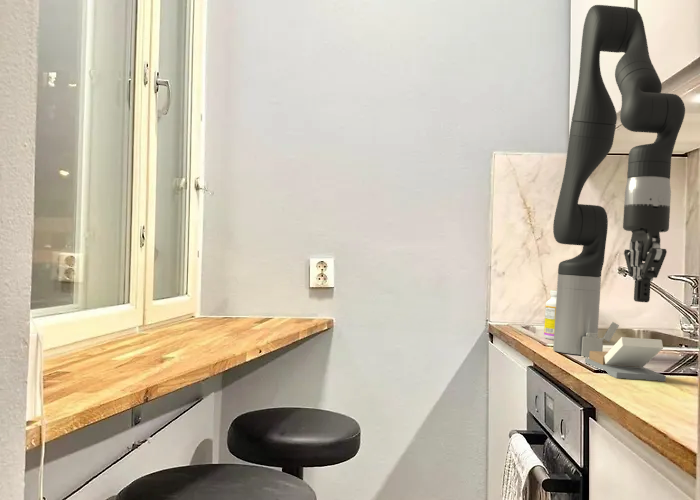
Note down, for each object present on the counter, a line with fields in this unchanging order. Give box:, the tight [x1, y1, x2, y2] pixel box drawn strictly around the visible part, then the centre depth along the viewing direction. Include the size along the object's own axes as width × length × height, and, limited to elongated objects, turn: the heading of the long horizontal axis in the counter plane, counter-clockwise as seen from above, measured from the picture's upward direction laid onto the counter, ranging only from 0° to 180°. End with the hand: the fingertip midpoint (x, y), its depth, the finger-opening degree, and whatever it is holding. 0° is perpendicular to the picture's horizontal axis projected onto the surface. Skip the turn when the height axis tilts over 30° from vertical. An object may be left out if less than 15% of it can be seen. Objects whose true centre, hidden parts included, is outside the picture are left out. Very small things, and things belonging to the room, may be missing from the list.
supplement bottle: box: [543, 289, 557, 341], centre depth 182 cm, size 7×7×13 cm
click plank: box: [604, 336, 664, 368], centre depth 124 cm, size 9×7×2 cm
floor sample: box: [584, 351, 667, 382], centre depth 128 cm, size 17×8×3 cm, turn 179°
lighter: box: [580, 321, 620, 358], centre depth 147 cm, size 7×2×8 cm, turn 74°
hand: (641, 301), depth 122 cm, fingers closed
